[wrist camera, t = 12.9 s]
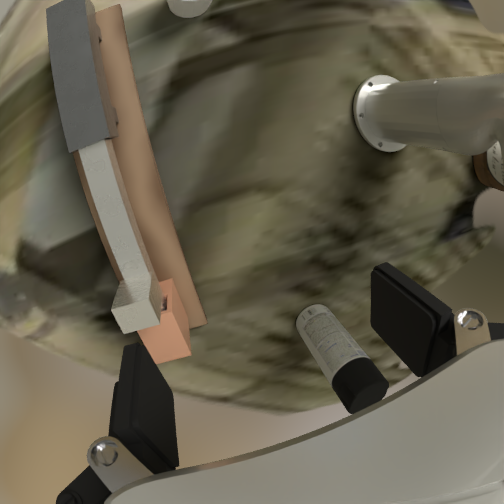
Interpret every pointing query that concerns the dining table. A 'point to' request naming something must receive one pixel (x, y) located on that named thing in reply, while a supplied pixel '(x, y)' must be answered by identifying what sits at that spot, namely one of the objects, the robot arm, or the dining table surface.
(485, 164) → the wooden container
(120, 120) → the base board
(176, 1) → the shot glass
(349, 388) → the spray can
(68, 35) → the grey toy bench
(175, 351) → the socket
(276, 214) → the dining table surface
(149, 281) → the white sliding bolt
